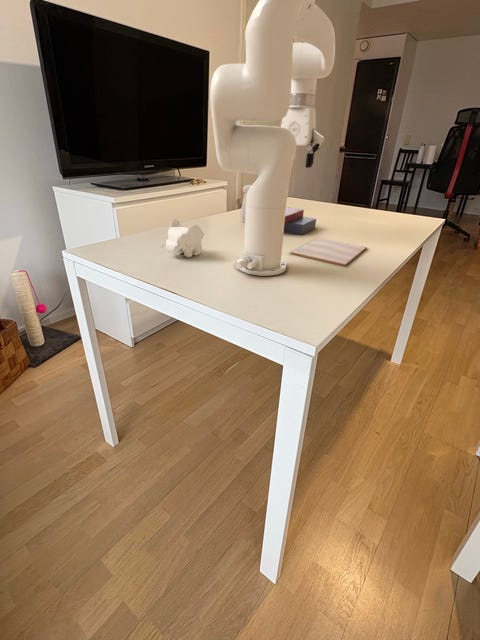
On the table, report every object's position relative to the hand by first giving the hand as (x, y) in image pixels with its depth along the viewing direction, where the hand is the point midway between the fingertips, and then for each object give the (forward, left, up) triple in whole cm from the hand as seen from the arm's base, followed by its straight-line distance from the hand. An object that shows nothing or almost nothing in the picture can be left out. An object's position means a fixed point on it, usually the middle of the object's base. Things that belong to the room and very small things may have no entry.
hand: (294, 166), depth 109 cm
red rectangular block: (+3, +3, -18) cm, 18 cm away
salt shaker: (+4, +19, -22) cm, 29 cm away
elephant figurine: (-41, +11, -22) cm, 47 cm away
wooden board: (-11, -20, -21) cm, 31 cm away
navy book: (+6, +3, -21) cm, 22 cm away
